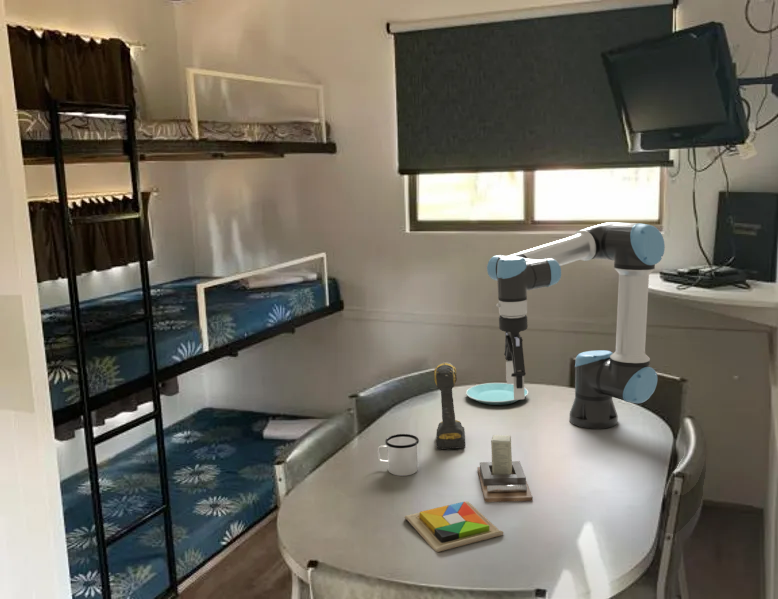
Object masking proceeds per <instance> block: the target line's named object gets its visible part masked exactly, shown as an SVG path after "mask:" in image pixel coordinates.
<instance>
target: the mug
mask: <svg viewBox="0 0 778 599" xmlns="http://www.w3.org/2000/svg"><path fill="white" fill-rule="evenodd" d="M419 442H420V440H419V438H418V437H417V435H416V436H415V435H413V434H409V433H408V434H407V433H406V434H405V433H400V434H399V433H398V434H393V435H390V436H388V437H386V438H385V441H384V443H385V445H384V444H383V445H379V446H378V447H377V458H378V461H379V462H381V463H386V464H387V471H388V472H389V473H390V474H392V475H394V476H399V477H400V476H401V477H404V476H410V475H413V474H415V473H417V472H418V470H419V469H418V468H419V467H418V465H419V464H418V463H419V462H418V444H419ZM381 448H383V449H387V459H381V453H380V450H381Z"/></svg>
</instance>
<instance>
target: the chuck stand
mask: <svg viewBox="0 0 778 599" xmlns="http://www.w3.org/2000/svg"><path fill="white" fill-rule="evenodd" d="M477 475H478V478H479V481H480V487H481V491H482V494H483V500H484V503H498V502H499V503H500V502H501V503H502V502H504V503H505V502H533V494H532V491H531V490H530V486H529V484H528V481H527V476H526V474H525V471H524V469H523V467H522V464H521V461H520V460H518V461H516V460H515V461H513V460H512V474H511V475H492V461H486V462H485V461H483V462H479V466H478V467H477ZM489 485H527V492H497V493H488V492H487V486H489Z"/></svg>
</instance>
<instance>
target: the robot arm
mask: <svg viewBox="0 0 778 599" xmlns="http://www.w3.org/2000/svg"><path fill="white" fill-rule="evenodd" d="M665 248H666V246H665V239H664V236H663V234H662V232H661V231H660V230H659V229H658V228H657V227H656V226H655V225H651V224H647V223H639V222H637V223H636V222H618V221H617V222H616V221H610V222H604V223H601V224H600V223H598V224H597V225H593V226H590V227H586V228H583V229H580V230H577V231H576V232H574V234H573V235H571V236H568V237H564V238H562V239H559V240H555V241H552V242H549V243H545V244H542V245H539V246H535V247H533V248H532V247H531V248H529V249H526V250H522V251H519V252H516V253H511V254H509V255H505V254H498V255H497V254H496V255H493V256H492V257H491V258H489V261H488V263H487V266H486V272H487V275H488V277H489V278H490V279H492V280H493V281H497V296H498V297H497V299H498V303H496V305H495V306H496V308H498V314H499V317H498V328H499V330H500V331H502V332H505V333H504V334H505V335H504V336H505V337H504V353H503V355H504V358H505V377H506V378H505V381H506V382H505V383H507V384H513V385H514V400H517V401H519V400H525V399H526V398H525V397H526V396H525V395H524V388H525V376H526V367H525V358H524V357H525V356H524V349H523V340H524V339H523V337H522V336H521V334H520V332H524V331H526V330H527V329H528V325H529V324H528V316H527V314H528V296H527V295H528V294H527V293H528V291H530V290H536V289H537V290H538V289H541V288H548V287H551V286H554V285H556V284H558V283H559V281H560V280H561V279H562V278H561V277H562V268H561V266H564V265H568V264H571V263H574V262H576V261H579V260H581V261H585V262H586V261H590V260H595V259H596V260H607V261H608V260H610V261H614V262H613V269H614V270H615V271H616V272H617V273H618V288H617V289H618V290H617V311H616V329H615V330H616V334H615V351H614V352H612V351H610V350H604V349H602V350H598V349H597V350H587V351H583V352H580V353H578V354H577V355H576V357H575V365H574V387H575V388H574V392H575V394H574V395H575V396H574V399H573V401H572V405H571V408H570V411H569V418H568V419H569V422H570V423H571V424H573V425H575V426H577V427H580V428H584V429H585V428H586V429H593V430H595V429H597V430H598V429H599V430H601V429H609V428H612V427H615V426H616V425H617V424H618V423H619V422H618V418H619V416H618V412H617V409H616V407H615V403H614V400H613V398H615V399H618V400H622V401H624V402H627V403H632V404H642V403H644V402H646V401H647V400H649V399H650V398H651V397H652V395H653V394H654V393H655V390H656V388H657V385H658V373H657V372H656V370H655V369H654V368H653V367H651V366H650V364H651V358H650V357H649V356H648V355H647V354H646V342H647V341H646V340H647V338H646V337H647V320H648V299H649V283H650V280H649V278H650V274H651V273H653V272H654V271H655V269H656V268H655V267H656V265H657V264H659V263H660V262H661V261H662V259H663V258H662V257H663V256H664V254H665Z"/></svg>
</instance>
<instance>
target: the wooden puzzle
mask: <svg viewBox="0 0 778 599" xmlns="http://www.w3.org/2000/svg"><path fill="white" fill-rule="evenodd" d="M404 520H405V521H408V522H409V524H410V525H411V526H412V527H413V528H414V529H415V531H416V532H417V534H419V535H420V536H421V537H422V538H423V539H424V541H425V542H426V543H427V545H429V547H430V548H432V550H433V551H435V552H436V553H439V552H444V551H447V550H450V549H451V550H452V549H455V548H458V547H463V546H467V545H470V544H474V543H478V542H483V541H486V540H489V539H493V538H496V537H497V538H498V537H502V536H504V531H503V530H501V529H499V528H498V527H497V526H496V525H494V524H493V523H492V522H491V521H490V520H488V518H487V517H486V516H485V515H483V514H482V512H480V510H478V509H477V508H476V507H475V506H474V505H473V504H471V502H470V501H462V502H457V503H451V504H448V505H443V506H439V507H435V508H431V509H430V508H429V509H426V510H423V511H420V512H416V513H412V514H407V515H404Z"/></svg>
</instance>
